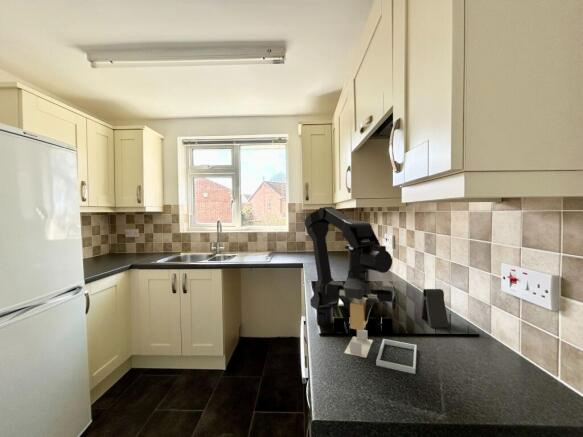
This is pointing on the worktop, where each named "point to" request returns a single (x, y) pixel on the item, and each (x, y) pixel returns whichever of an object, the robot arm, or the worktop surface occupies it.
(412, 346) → the parts tray
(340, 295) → the robot arm
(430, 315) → the phone stand
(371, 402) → the worktop surface
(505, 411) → the worktop surface
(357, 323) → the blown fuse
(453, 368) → the worktop surface
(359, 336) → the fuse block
